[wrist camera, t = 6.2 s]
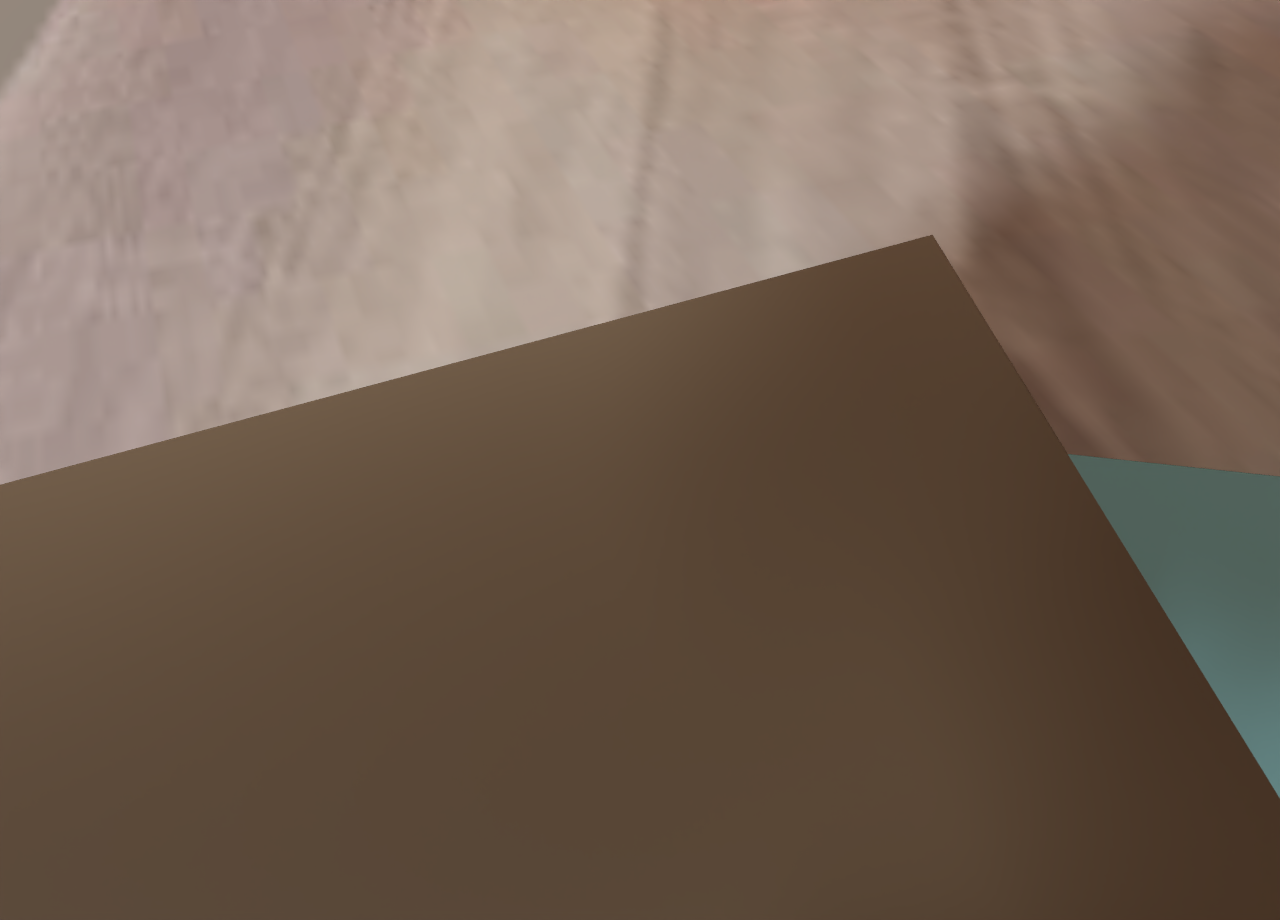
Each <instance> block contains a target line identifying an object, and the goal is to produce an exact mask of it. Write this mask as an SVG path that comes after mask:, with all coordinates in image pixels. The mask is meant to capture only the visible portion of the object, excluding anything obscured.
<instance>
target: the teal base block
mask: <svg viewBox="0 0 1280 920" xmlns="http://www.w3.org/2000/svg"><path fill="white" fill-rule="evenodd" d="M1068 456H1069V457H1070V459H1071V460H1072V462H1073V464H1074V465H1075V467H1076V469H1077V470H1078V472H1079V473H1080V475H1081V477H1082V478H1083V480H1084V482H1085V483H1086V485H1087V486H1088V488H1089V490H1090V491H1091V493H1092V494H1093V496H1094V498H1095V499H1096V501H1097V503H1098V504H1099V506H1100V507H1101V509H1102V511H1103V512H1104V514H1105V516H1106V517H1107V519H1108V520H1109V522H1110V524H1111V525H1112V527H1113V529H1114V530H1115V532H1116V533H1117V535H1118V537H1119V538H1120V540H1121V542H1122V543H1123V545H1124V546H1125V548H1126V550H1127V551H1128V553H1129V555H1130V556H1131V558H1132V559H1133V561H1134V563H1135V564H1136V566H1137V567H1138V569H1139V571H1140V572H1141V574H1142V576H1143V577H1144V579H1145V580H1146V582H1147V584H1148V585H1149V587H1150V589H1151V590H1152V592H1153V593H1154V595H1155V597H1156V598H1157V600H1158V602H1159V603H1160V605H1161V606H1162V608H1163V610H1164V611H1165V613H1166V615H1167V616H1168V618H1169V619H1170V621H1171V623H1172V624H1173V626H1174V627H1175V629H1176V631H1177V632H1178V634H1179V636H1180V637H1181V639H1182V640H1183V642H1184V644H1185V645H1186V647H1187V649H1188V650H1189V652H1190V653H1191V655H1192V657H1193V658H1194V660H1195V662H1196V663H1197V665H1198V666H1199V668H1200V670H1201V671H1202V673H1203V675H1204V676H1205V678H1206V679H1207V681H1208V683H1209V684H1210V686H1211V688H1212V689H1213V691H1214V692H1215V694H1216V696H1217V697H1218V699H1219V700H1220V702H1221V704H1222V705H1223V707H1224V709H1225V710H1226V712H1227V713H1228V715H1229V717H1230V718H1231V720H1232V722H1233V723H1234V725H1235V726H1236V728H1237V730H1238V731H1239V733H1240V735H1241V736H1242V738H1243V739H1244V741H1245V743H1246V744H1247V746H1248V748H1249V749H1250V751H1251V752H1252V754H1253V756H1254V757H1255V759H1256V761H1257V762H1258V764H1259V765H1260V767H1261V769H1262V770H1263V772H1264V773H1265V775H1266V777H1267V778H1268V780H1269V782H1270V783H1271V785H1272V786H1273V788H1274V790H1275V791H1276V793H1277V795H1278V796H1279V798H1280V477H1279V476H1270V475H1261V474H1251V473H1242V472H1232V471H1223V470H1213V469H1204V468H1194V467H1185V466H1176V465H1166V464H1157V463H1147V462H1138V461H1128V460H1119V459H1109V458H1100V457H1091V456H1081V455H1072V454H1068Z"/></svg>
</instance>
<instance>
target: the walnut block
mask: <svg viewBox="0 0 1280 920" xmlns="http://www.w3.org/2000/svg"><path fill="white" fill-rule="evenodd" d="M0 920H1280V798H1279V796H1278V795H1277V793H1276V791H1275V790H1274V788H1273V786H1272V785H1271V783H1270V782H1269V780H1268V778H1267V777H1266V775H1265V773H1264V772H1263V770H1262V769H1261V767H1260V765H1259V764H1258V762H1257V761H1256V759H1255V757H1254V756H1253V754H1252V752H1251V751H1250V749H1249V748H1248V746H1247V744H1246V743H1245V741H1244V739H1243V738H1242V736H1241V735H1240V733H1239V731H1238V730H1237V728H1236V726H1235V725H1234V723H1233V722H1232V720H1231V718H1230V717H1229V715H1228V713H1227V712H1226V710H1225V709H1224V707H1223V705H1222V704H1221V702H1220V700H1219V699H1218V697H1217V696H1216V694H1215V692H1214V691H1213V689H1212V688H1211V686H1210V684H1209V683H1208V681H1207V679H1206V678H1205V676H1204V675H1203V673H1202V671H1201V670H1200V668H1199V666H1198V665H1197V663H1196V662H1195V660H1194V658H1193V657H1192V655H1191V653H1190V652H1189V650H1188V649H1187V647H1186V645H1185V644H1184V642H1183V640H1182V639H1181V637H1180V636H1179V634H1178V632H1177V631H1176V629H1175V627H1174V626H1173V624H1172V623H1171V621H1170V619H1169V618H1168V616H1167V615H1166V613H1165V611H1164V610H1163V608H1162V606H1161V605H1160V603H1159V602H1158V600H1157V598H1156V597H1155V595H1154V593H1153V592H1152V590H1151V589H1150V587H1149V585H1148V584H1147V582H1146V580H1145V579H1144V577H1143V576H1142V574H1141V572H1140V571H1139V569H1138V567H1137V566H1136V564H1135V563H1134V561H1133V559H1132V558H1131V556H1130V555H1129V553H1128V551H1127V550H1126V548H1125V546H1124V545H1123V543H1122V542H1121V540H1120V538H1119V537H1118V535H1117V533H1116V532H1115V530H1114V529H1113V527H1112V525H1111V524H1110V522H1109V520H1108V519H1107V517H1106V516H1105V514H1104V512H1103V511H1102V509H1101V507H1100V506H1099V504H1098V503H1097V501H1096V499H1095V498H1094V496H1093V494H1092V493H1091V491H1090V490H1089V488H1088V486H1087V485H1086V483H1085V482H1084V480H1083V478H1082V477H1081V475H1080V473H1079V472H1078V470H1077V469H1076V467H1075V465H1074V464H1073V462H1072V460H1071V459H1070V457H1069V456H1068V454H1067V452H1066V451H1065V449H1064V447H1063V446H1062V444H1061V443H1060V441H1059V439H1058V438H1057V436H1056V434H1055V433H1054V431H1053V430H1052V428H1051V426H1050V425H1049V423H1048V421H1047V420H1046V418H1045V417H1044V415H1043V413H1042V412H1041V410H1040V409H1039V407H1038V405H1037V404H1036V402H1035V400H1034V399H1033V397H1032V396H1031V394H1030V392H1029V391H1028V389H1027V387H1026V386H1025V384H1024V383H1023V381H1022V379H1021V378H1020V376H1019V374H1018V373H1017V371H1016V370H1015V368H1014V366H1013V365H1012V363H1011V361H1010V360H1009V358H1008V357H1007V355H1006V353H1005V352H1004V350H1003V349H1002V347H1001V345H1000V344H999V342H998V340H997V339H996V337H995V336H994V334H993V332H992V331H991V329H990V327H989V326H988V324H987V323H986V321H985V319H984V318H983V316H982V314H981V313H980V311H979V310H978V308H977V306H976V305H975V303H974V301H973V300H972V298H971V297H970V295H969V293H968V292H967V290H966V288H965V287H964V285H963V284H962V282H961V280H960V279H959V277H958V276H957V274H956V272H955V271H954V269H953V267H952V266H951V264H950V263H949V261H948V259H947V258H946V256H945V254H944V253H943V251H942V250H941V248H940V246H939V245H938V243H937V241H936V240H935V238H934V237H933V235H930V236H926V237H923V238H919V239H915V240H911V241H908V242H904V243H900V244H897V245H893V246H889V247H885V248H882V249H878V250H874V251H870V252H867V253H863V254H859V255H856V256H852V257H848V258H844V259H841V260H837V261H833V262H829V263H826V264H822V265H818V266H815V267H811V268H807V269H803V270H800V271H796V272H792V273H788V274H785V275H781V276H777V277H774V278H770V279H766V280H762V281H759V282H755V283H751V284H747V285H744V286H740V287H736V288H732V289H729V290H725V291H721V292H718V293H714V294H710V295H706V296H703V297H699V298H695V299H691V300H688V301H684V302H680V303H677V304H673V305H669V306H665V307H662V308H658V309H654V310H650V311H647V312H643V313H639V314H636V315H632V316H628V317H624V318H621V319H617V320H613V321H609V322H606V323H602V324H598V325H594V326H591V327H587V328H583V329H580V330H576V331H572V332H568V333H565V334H561V335H557V336H553V337H550V338H546V339H542V340H539V341H535V342H531V343H527V344H524V345H520V346H516V347H512V348H509V349H505V350H501V351H498V352H494V353H490V354H486V355H483V356H479V357H475V358H471V359H468V360H464V361H460V362H457V363H453V364H449V365H445V366H442V367H438V368H434V369H430V370H427V371H423V372H419V373H415V374H412V375H408V376H404V377H401V378H397V379H393V380H389V381H386V382H382V383H378V384H374V385H371V386H367V387H363V388H360V389H356V390H352V391H348V392H345V393H341V394H337V395H333V396H330V397H326V398H322V399H319V400H315V401H311V402H307V403H304V404H300V405H296V406H292V407H289V408H285V409H281V410H278V411H274V412H270V413H266V414H263V415H259V416H255V417H251V418H248V419H244V420H240V421H236V422H233V423H229V424H225V425H222V426H218V427H214V428H210V429H207V430H203V431H199V432H195V433H192V434H188V435H184V436H181V437H177V438H173V439H169V440H166V441H162V442H158V443H154V444H151V445H147V446H143V447H140V448H136V449H132V450H128V451H125V452H121V453H117V454H113V455H110V456H106V457H102V458H99V459H95V460H91V461H87V462H84V463H80V464H76V465H72V466H69V467H65V468H61V469H57V470H54V471H50V472H46V473H43V474H39V475H35V476H31V477H28V478H24V479H20V480H16V481H13V482H9V483H5V484H2V485H0Z"/></svg>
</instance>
